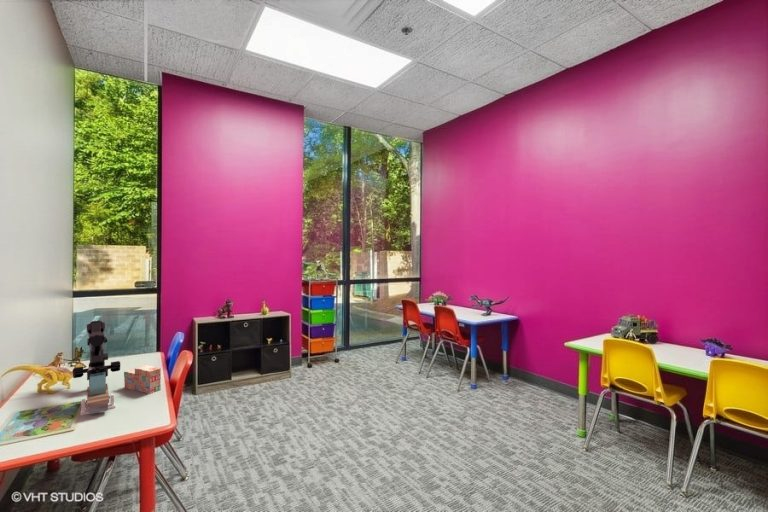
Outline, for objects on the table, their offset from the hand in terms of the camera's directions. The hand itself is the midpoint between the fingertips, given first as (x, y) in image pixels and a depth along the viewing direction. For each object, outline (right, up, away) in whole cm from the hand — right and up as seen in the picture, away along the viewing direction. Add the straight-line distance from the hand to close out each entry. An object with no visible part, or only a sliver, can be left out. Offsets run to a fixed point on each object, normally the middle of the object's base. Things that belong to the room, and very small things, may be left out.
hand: (97, 384), depth 180 cm
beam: (+1, -8, -2) cm, 9 cm away
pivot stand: (+4, -10, -5) cm, 12 cm away
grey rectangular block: (+2, -3, -2) cm, 4 cm away
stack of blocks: (+8, -10, +22) cm, 25 cm away
